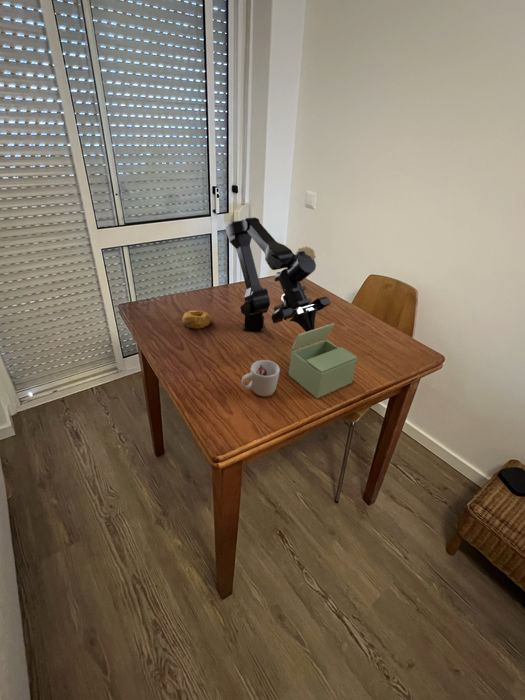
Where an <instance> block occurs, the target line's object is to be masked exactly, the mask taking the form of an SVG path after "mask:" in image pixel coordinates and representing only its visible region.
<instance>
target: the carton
mask: <svg viewBox="0 0 525 700" xmlns="http://www.w3.org/2000/svg"><path fill="white" fill-rule="evenodd" d="M357 361H358V356H356V355H355V354H353V353H352V352H350V351H349V350H347V349H346V348H344V347H342V346H340V347H338V346H337V345H335V344H334V343H332V342H331V341H329V340H327V339H322V340H319V341H316V342H313V343H310V344H308V345H305V346H302V347H299V348H296V349H293V350H291V351H290V359H289V366H288V376H289V377H290V378H292V379H293V380H294V381H295V382H296V383H298V384H299V385H300V386H301V387H302V388H304V389H305V390H306V391H307V392H308V393H310V394H311V395H312V396H313V397H314V398H316V399H320V398H322V397H324V396H326V395H329V394H331V393H332V392H334V391H337V390H339V389H341V388H343V387H345V386H348V385H351V384H352V383H353V379H354V374H355V371H356V366H357Z"/></svg>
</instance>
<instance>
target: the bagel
mask: <svg viewBox="0 0 525 700" xmlns="http://www.w3.org/2000/svg"><path fill="white" fill-rule="evenodd" d="M181 320H182V323H183V324H184V325H185V326H186V327H187V328H190V329H195V330H197V329H198V330H199V329H204V328H206V327H208V326H209V325H210V324H211V323H212V322H213V317H211V315H209V313H208V312H206V311H205V310H189V311H187V312H185V313H184V314H183V315H182V319H181Z"/></svg>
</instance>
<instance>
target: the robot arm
mask: <svg viewBox="0 0 525 700" xmlns="http://www.w3.org/2000/svg"><path fill="white" fill-rule="evenodd" d="M225 234H226V235H227V238H228V241H229V243H230V244H231V246H233V248H234V249H235V251H236V253H237V257H238V260H239V265H240V269H241V272H242V276H243V281H244V284H245V288H246V290H245V293H244V297H243V299H244V303H243V304H242V305H240V312H241V314H243V316H244V326H243V331H247V332H256V333H261V332H262V330H263V329H264V326H265V315H264V314H267V313H268V311H269V308H270V305H271V298H270V295H269V290H268V289H267V288H263V287H262V285H261V284H260V279H259V275H258V272H257V267H256V263H255V259H254V256H253V253H252V248H251V242H252V240H253V241H254V242H255V243H256V244H257V245H258V247H259V248H260V249H261V250H262V252H263V254H264V260H265V262H266V264H267V266H268V267H269V269H271V270H272V271H277V270H281V271H277V272H276V273H275V277H274V282H279V284H280V286H281V290H282V291H283V294H285V295H284V296H283V300H284V302H283V303H282V304H278V305H275V306H274V307H273V311H274V312H273V313H271V320H272V323H273V324H277V323H281V322H283V321H287V320H289V322H293V323H297V324H298V325H299V326H300V327H301V329H303V330H304V331H305V332H307V331H311V330H314V329H315V324H316V323H315V322H316V315H317V312H319V311H322V310H323V309H325V308H327V307H328V306H330V305H331V300H330V299H329V297H327V296H322V297H317V298H315V299H314V300H313V301H312V299H311V298H308V296H307V295H306V292H305V290H307V287H306V285H302V282H303V281H304V280H305V279H306V278H308V277H309V276H310V275H311V274H313V273H314V271H316V267H317V264H316V261H315V259H314V260H313V259H312V258H311V257H310V256H309V255H306V254H305V252H304V251H301V252H298V253H297V254H296V253H295V254H296V255H295V254H294V253H293V251H292V250H291V248H289V247H288V246H286V244H283V243H280V242H278V241H277V240H276V239H275V238H274V237H273V236H272V235H271V234H270V232H269V231H268V230H267V229H266V228H265V227H264V226H263V225H262V223H261V222H260V219H259V218H257V217H245V218H243V219H241V220H235V221H229V222H228V223H227V225H226V226H225Z"/></svg>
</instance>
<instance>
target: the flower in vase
mask: <svg viewBox="0 0 525 700" xmlns="http://www.w3.org/2000/svg"><path fill="white" fill-rule="evenodd" d="M301 251H304V252H305V254H306V255H309V256H310V257H311V258H312V259H313V260H314V261H315V260H316V253H315V250H314V249H313V248H311V246H310V247H309V246H307V245H306V246H302V247H301V248H299V247H298V249H297V251H296V252H295V255H296V254H297V253H298V252H301ZM284 295H285V294H284V293H282V295H281V297H280V299H281V301H282V303H284V300H283V296H284Z"/></svg>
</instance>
